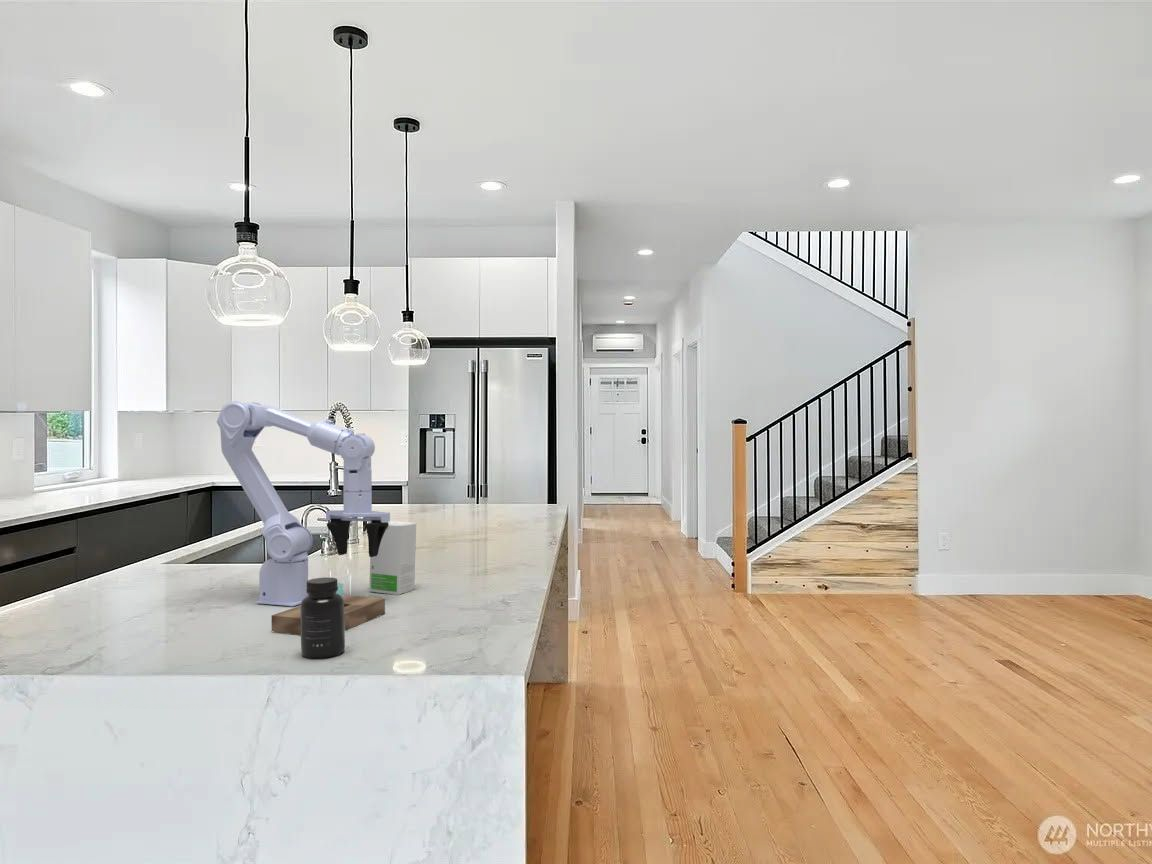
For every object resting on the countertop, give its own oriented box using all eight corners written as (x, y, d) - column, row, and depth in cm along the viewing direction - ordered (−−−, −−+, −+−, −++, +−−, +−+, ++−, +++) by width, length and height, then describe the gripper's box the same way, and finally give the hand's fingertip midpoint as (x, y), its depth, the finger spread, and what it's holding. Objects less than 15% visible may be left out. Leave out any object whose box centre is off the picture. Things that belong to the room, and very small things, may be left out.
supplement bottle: (307, 647, 126) (306, 576, 126) (348, 646, 127) (348, 575, 127) (295, 660, 119) (295, 584, 119) (339, 659, 120) (339, 583, 120)
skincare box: (368, 592, 169) (368, 523, 169) (386, 586, 175) (386, 519, 175) (400, 595, 166) (399, 524, 166) (417, 589, 172) (416, 521, 172)
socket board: (271, 632, 136) (271, 615, 136) (333, 609, 153) (333, 594, 153) (327, 637, 132) (327, 620, 132) (384, 613, 149) (384, 598, 149)
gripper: (316, 491, 158) (316, 556, 158) (376, 493, 153) (376, 560, 153) (337, 489, 165) (337, 551, 165) (395, 490, 160) (395, 554, 160)
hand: (357, 555), depth 159 cm, fingers open, 7 cm apart
